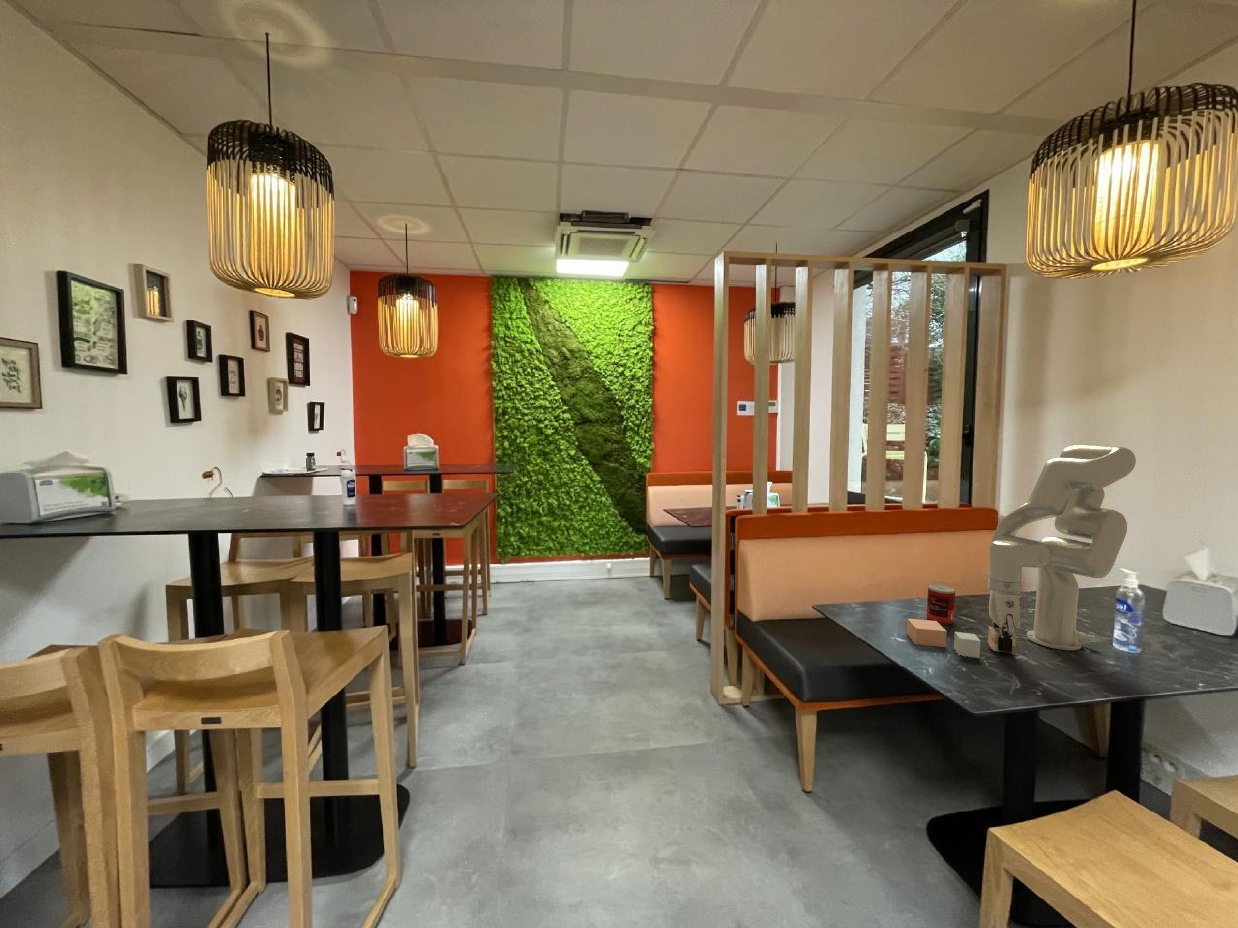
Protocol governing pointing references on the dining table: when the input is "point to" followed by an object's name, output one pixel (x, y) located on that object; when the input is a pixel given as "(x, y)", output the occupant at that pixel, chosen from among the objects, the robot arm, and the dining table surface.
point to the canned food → (940, 603)
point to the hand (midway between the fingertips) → (1001, 646)
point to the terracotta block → (926, 632)
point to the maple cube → (993, 639)
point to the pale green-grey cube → (967, 644)
